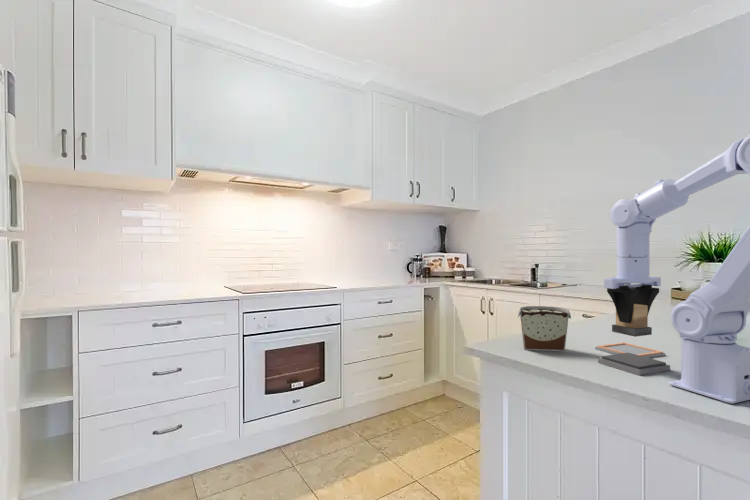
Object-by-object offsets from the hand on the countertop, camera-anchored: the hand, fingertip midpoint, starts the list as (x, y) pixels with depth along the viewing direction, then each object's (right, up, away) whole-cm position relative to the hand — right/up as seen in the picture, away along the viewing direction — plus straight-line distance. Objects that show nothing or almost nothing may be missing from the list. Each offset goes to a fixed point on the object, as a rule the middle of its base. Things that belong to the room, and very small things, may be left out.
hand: (632, 321), depth 81 cm
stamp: (0, -3, 0) cm, 3 cm away
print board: (+6, -9, +11) cm, 16 cm away
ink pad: (0, -9, 0) cm, 9 cm away
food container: (-13, -10, +16) cm, 22 cm away
